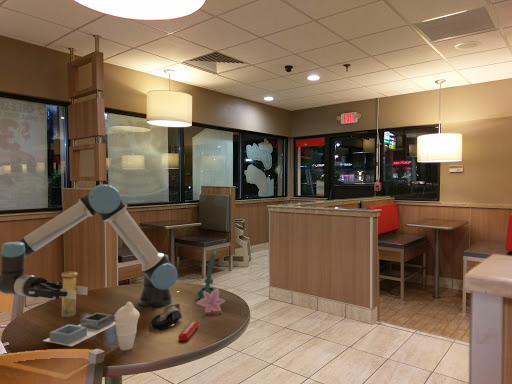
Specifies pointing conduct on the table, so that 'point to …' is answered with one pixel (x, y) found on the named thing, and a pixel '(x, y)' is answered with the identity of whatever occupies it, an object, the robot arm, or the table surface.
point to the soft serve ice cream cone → (126, 325)
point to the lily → (211, 301)
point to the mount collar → (97, 321)
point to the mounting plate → (89, 334)
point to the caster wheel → (167, 317)
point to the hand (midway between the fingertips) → (81, 292)
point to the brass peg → (69, 303)
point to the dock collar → (68, 334)
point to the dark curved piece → (208, 277)
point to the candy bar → (188, 331)
